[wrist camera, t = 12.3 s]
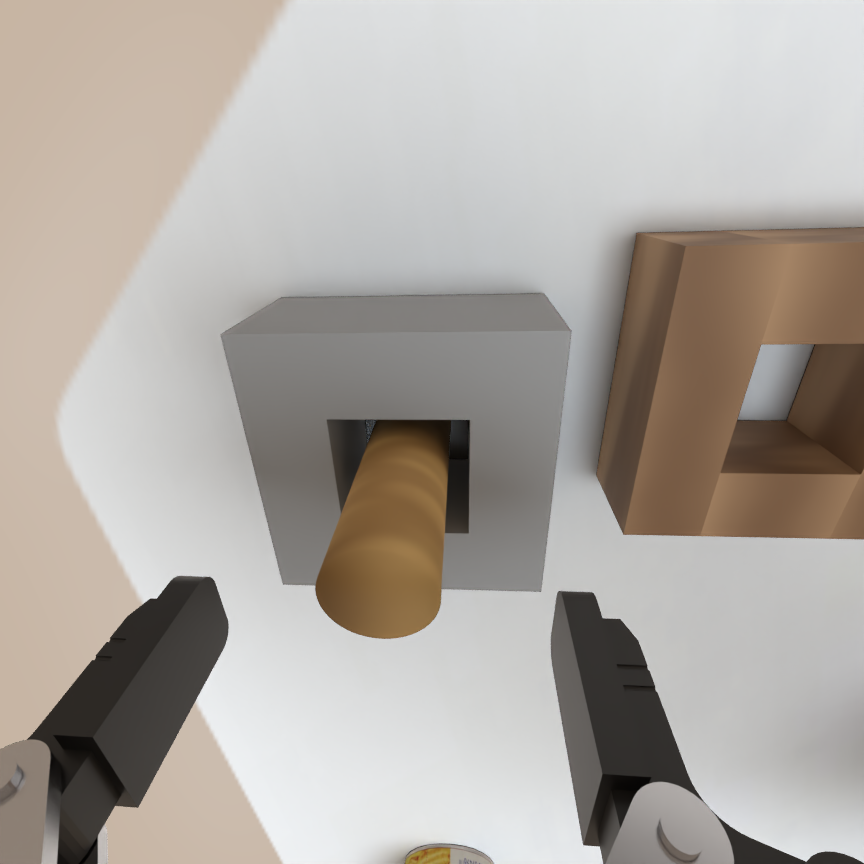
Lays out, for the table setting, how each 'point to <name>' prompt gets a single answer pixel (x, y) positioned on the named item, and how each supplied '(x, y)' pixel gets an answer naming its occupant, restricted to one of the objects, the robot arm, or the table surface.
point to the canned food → (446, 855)
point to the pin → (391, 533)
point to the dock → (406, 418)
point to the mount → (738, 386)
